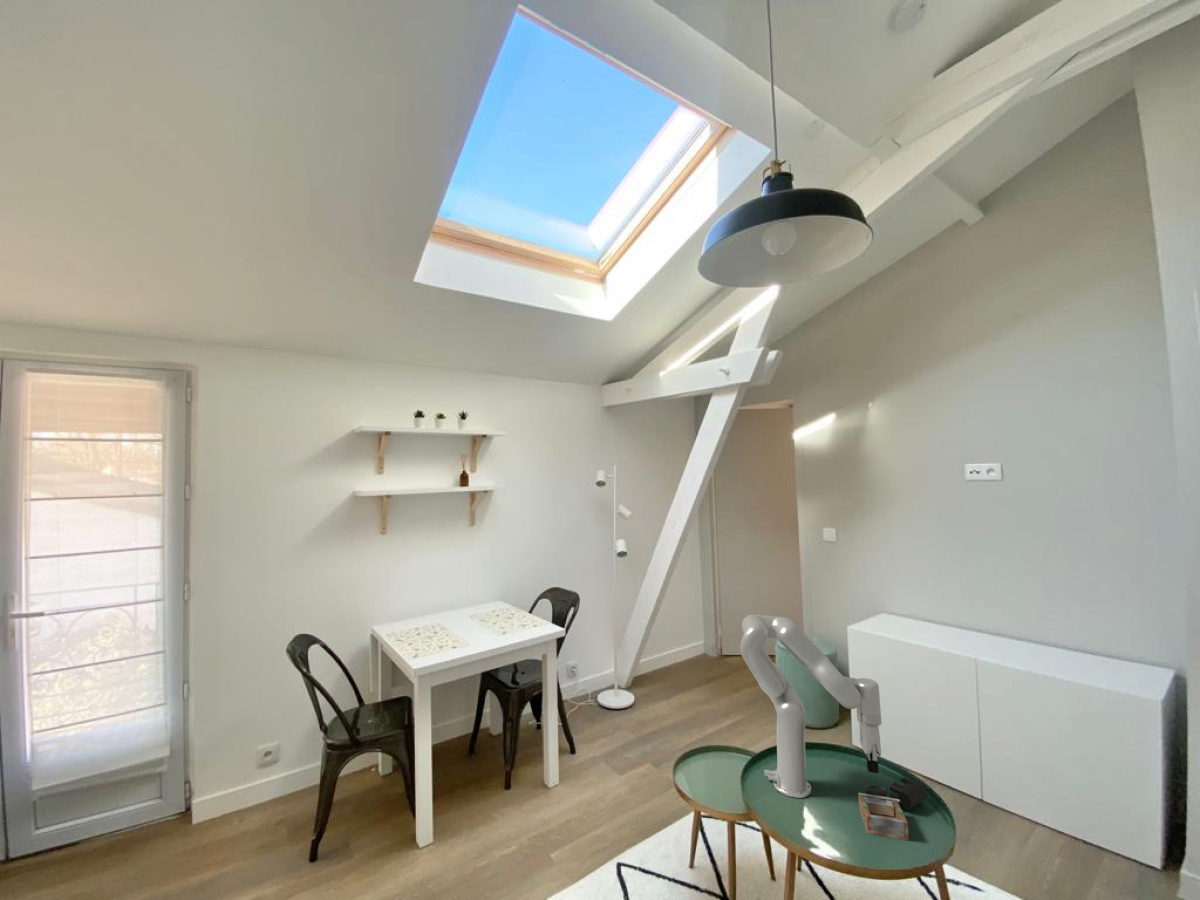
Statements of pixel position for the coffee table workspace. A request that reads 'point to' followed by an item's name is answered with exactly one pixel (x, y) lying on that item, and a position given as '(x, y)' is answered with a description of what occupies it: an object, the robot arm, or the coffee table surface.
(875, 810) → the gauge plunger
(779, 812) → the coffee table surface
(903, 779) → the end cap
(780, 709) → the robot arm
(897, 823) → the wood and grey box
